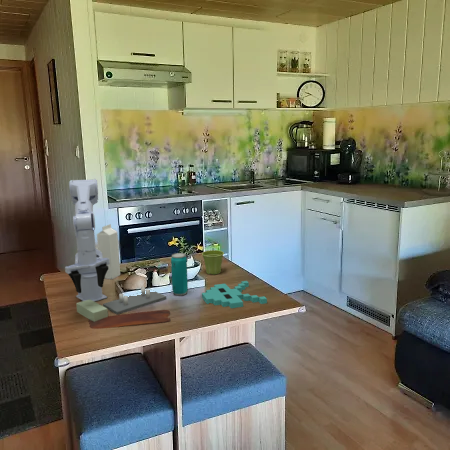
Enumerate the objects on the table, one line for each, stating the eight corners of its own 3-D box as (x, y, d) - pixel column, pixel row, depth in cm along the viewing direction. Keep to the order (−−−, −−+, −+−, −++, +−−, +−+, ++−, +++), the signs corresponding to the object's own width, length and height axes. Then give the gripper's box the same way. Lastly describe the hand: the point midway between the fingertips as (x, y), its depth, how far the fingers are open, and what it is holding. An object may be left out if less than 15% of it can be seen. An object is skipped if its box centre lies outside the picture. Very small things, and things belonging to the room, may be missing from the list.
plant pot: (208, 277, 187) (208, 257, 185) (198, 271, 195) (198, 252, 194) (228, 273, 192) (227, 254, 190) (217, 268, 200) (217, 249, 198)
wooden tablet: (169, 312, 155) (169, 307, 155) (171, 324, 145) (171, 319, 145) (89, 319, 150) (88, 314, 150) (85, 332, 141) (85, 327, 140)
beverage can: (183, 289, 174) (182, 252, 171) (190, 294, 169) (189, 255, 166) (169, 292, 171) (168, 254, 168) (176, 297, 166) (175, 258, 163)
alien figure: (246, 286, 178) (197, 292, 172) (246, 280, 177) (197, 287, 171) (266, 304, 159) (212, 312, 153) (266, 298, 159) (212, 306, 153)
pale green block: (77, 312, 155) (76, 303, 154) (90, 308, 158) (89, 299, 157) (94, 323, 146) (93, 313, 145) (108, 318, 149) (107, 308, 149)
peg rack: (102, 306, 159) (102, 295, 158) (151, 292, 172) (150, 282, 171) (117, 314, 152) (116, 303, 151) (166, 299, 165) (165, 288, 164)
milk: (100, 278, 189) (95, 226, 185) (108, 273, 195) (104, 223, 190) (112, 279, 187) (108, 227, 182) (120, 274, 193) (116, 224, 188)
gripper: (70, 256, 140) (74, 298, 142) (112, 247, 149) (115, 286, 152) (60, 252, 145) (64, 292, 148) (102, 244, 154) (105, 281, 157)
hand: (89, 289), depth 150 cm, fingers open, 7 cm apart
